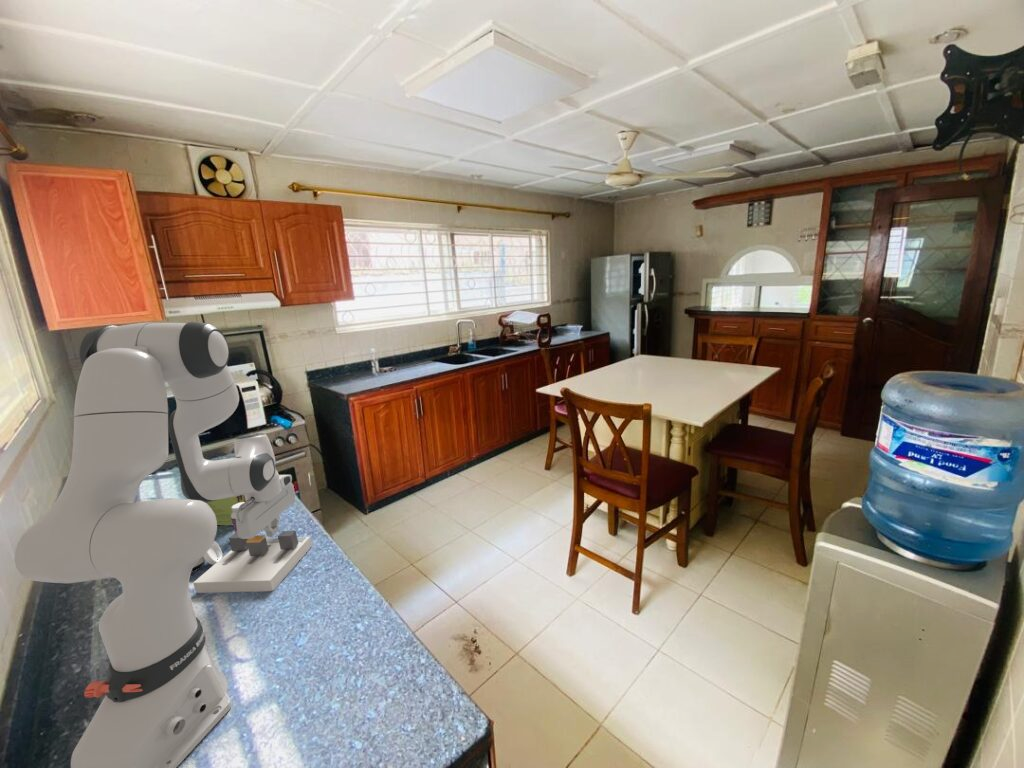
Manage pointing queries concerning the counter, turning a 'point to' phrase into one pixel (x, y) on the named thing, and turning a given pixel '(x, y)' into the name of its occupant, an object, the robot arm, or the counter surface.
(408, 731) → the counter surface
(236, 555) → the box
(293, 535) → the block
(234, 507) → the pill bottle
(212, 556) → the spread jar
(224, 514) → the protein box
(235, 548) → the left breaker
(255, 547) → the breaker
